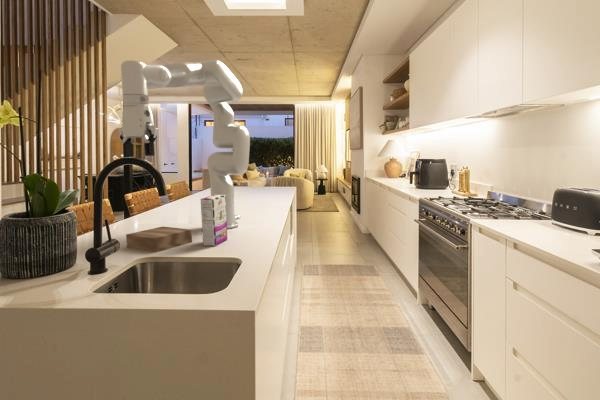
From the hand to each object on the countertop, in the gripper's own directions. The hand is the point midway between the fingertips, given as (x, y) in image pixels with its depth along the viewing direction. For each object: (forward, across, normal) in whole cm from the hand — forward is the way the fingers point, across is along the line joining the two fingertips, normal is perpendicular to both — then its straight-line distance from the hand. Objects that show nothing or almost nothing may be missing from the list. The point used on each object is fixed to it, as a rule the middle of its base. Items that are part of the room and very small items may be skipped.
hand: (139, 155), depth 133 cm
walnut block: (+31, 0, -6) cm, 32 cm away
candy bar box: (+31, -15, -17) cm, 39 cm away
